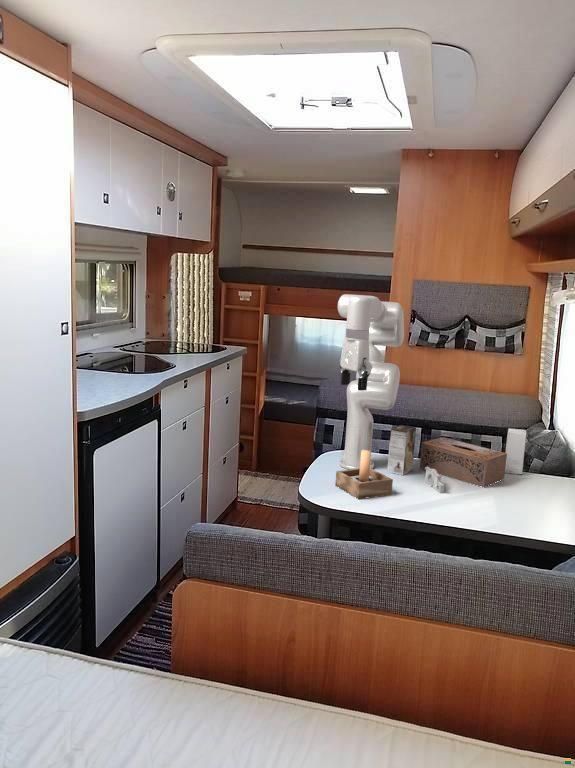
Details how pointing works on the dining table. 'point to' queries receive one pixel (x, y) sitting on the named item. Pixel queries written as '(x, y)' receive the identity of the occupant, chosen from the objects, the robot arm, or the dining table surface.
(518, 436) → the skincare box
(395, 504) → the dining table surface
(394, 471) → the coffee box
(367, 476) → the peg
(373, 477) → the box
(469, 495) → the dining table surface
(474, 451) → the tissue box cover
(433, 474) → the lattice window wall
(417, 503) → the dining table surface
